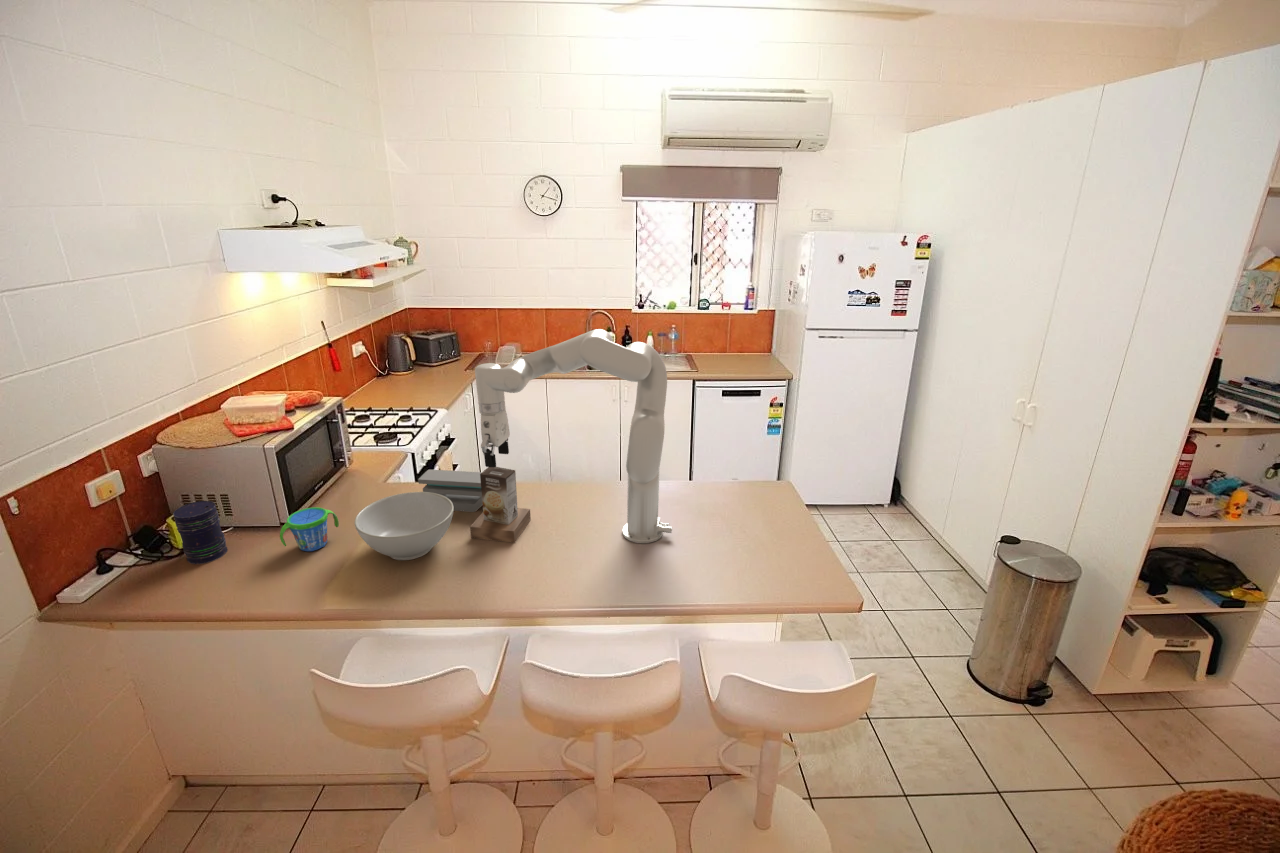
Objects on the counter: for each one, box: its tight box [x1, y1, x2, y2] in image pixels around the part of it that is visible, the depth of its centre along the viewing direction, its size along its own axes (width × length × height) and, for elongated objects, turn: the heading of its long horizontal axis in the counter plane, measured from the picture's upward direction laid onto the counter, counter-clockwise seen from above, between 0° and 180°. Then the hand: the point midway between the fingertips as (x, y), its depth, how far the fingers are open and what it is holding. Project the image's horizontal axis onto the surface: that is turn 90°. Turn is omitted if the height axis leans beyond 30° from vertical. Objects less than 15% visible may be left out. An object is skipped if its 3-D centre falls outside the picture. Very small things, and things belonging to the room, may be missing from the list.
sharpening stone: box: [417, 469, 483, 513], centre depth 199 cm, size 25×8×11 cm, turn 84°
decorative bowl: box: [354, 491, 454, 561], centre depth 173 cm, size 27×27×12 cm
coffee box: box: [480, 466, 519, 525], centre depth 182 cm, size 9×6×16 cm
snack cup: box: [279, 506, 340, 552], centre depth 174 cm, size 16×10×10 cm
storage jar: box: [172, 500, 228, 565], centre depth 169 cm, size 10×10×15 cm
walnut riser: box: [469, 507, 532, 544], centre depth 186 cm, size 14×14×4 cm
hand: (497, 460), depth 178 cm, fingers open, 9 cm apart
